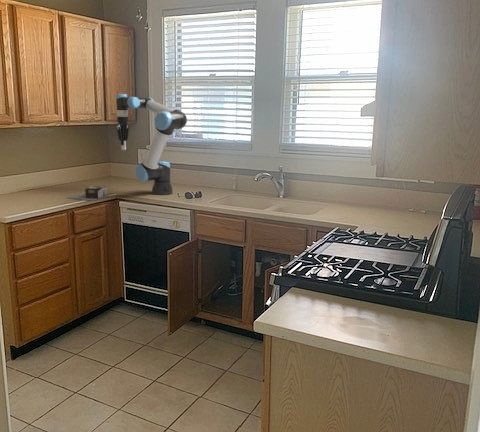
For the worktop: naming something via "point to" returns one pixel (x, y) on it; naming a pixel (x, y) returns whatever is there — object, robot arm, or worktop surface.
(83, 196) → the mat
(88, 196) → the coffee box
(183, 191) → the worktop surface
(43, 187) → the worktop surface
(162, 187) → the robot arm
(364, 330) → the worktop surface
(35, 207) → the worktop surface
